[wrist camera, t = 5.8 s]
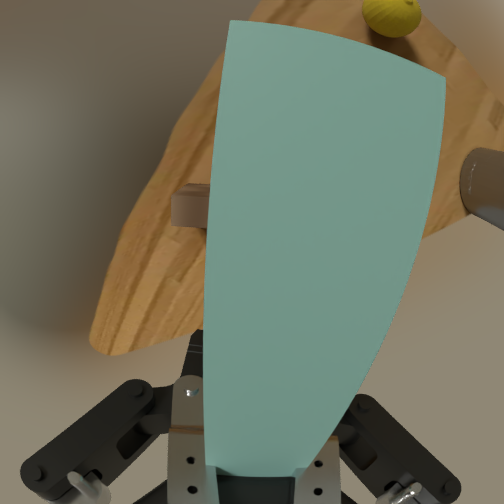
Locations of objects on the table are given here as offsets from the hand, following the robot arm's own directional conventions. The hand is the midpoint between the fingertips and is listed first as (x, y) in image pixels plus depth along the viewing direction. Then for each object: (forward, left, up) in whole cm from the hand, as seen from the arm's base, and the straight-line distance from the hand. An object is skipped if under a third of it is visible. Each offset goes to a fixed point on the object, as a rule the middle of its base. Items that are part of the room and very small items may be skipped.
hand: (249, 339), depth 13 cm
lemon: (-11, -25, -18) cm, 32 cm away
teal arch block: (0, -4, -2) cm, 4 cm away
